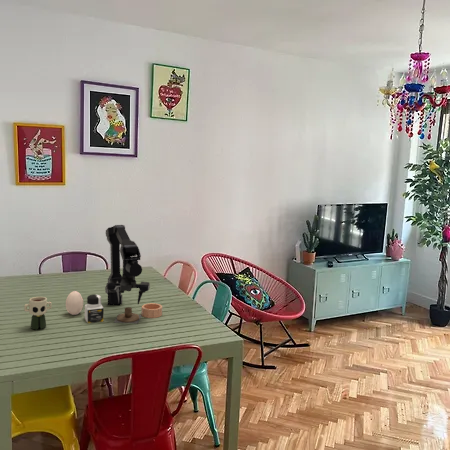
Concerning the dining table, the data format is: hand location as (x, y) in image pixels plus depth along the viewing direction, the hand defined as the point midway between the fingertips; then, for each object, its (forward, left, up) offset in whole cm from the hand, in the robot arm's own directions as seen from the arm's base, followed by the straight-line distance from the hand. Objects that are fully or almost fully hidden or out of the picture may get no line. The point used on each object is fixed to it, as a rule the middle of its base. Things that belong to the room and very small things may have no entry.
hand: (128, 303), depth 211 cm
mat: (0, 0, -8) cm, 8 cm away
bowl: (+10, +7, -8) cm, 15 cm away
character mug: (-36, -14, -8) cm, 39 cm away
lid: (0, 0, -7) cm, 7 cm away
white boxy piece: (-15, -3, -8) cm, 17 cm away
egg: (-26, +4, -8) cm, 27 cm away
